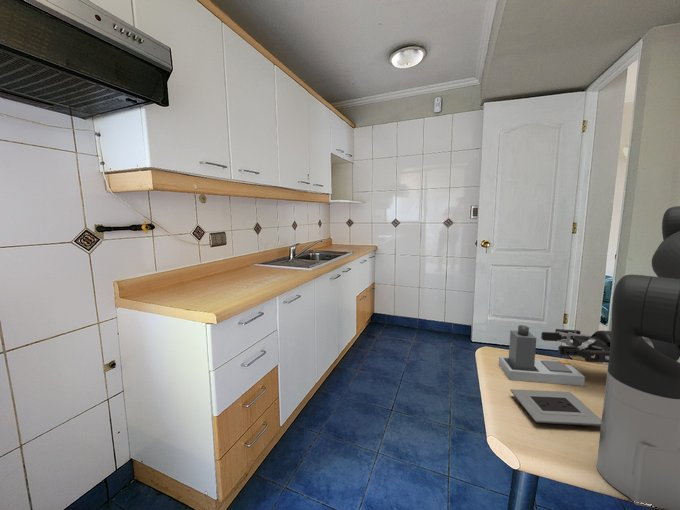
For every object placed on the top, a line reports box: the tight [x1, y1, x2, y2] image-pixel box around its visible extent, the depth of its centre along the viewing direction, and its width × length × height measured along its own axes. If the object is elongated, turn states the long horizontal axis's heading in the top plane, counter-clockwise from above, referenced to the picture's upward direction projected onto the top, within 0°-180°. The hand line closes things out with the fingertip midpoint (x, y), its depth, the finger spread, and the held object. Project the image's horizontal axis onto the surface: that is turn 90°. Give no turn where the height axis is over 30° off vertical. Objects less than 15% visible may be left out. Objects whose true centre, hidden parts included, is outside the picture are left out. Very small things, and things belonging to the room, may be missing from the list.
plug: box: [508, 324, 537, 371], centre depth 77 cm, size 4×4×13 cm
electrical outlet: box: [510, 388, 602, 427], centre depth 62 cm, size 13×10×2 cm
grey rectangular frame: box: [498, 355, 586, 387], centre depth 77 cm, size 8×17×3 cm, turn 79°
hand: (550, 342), depth 76 cm, fingers open, 8 cm apart
